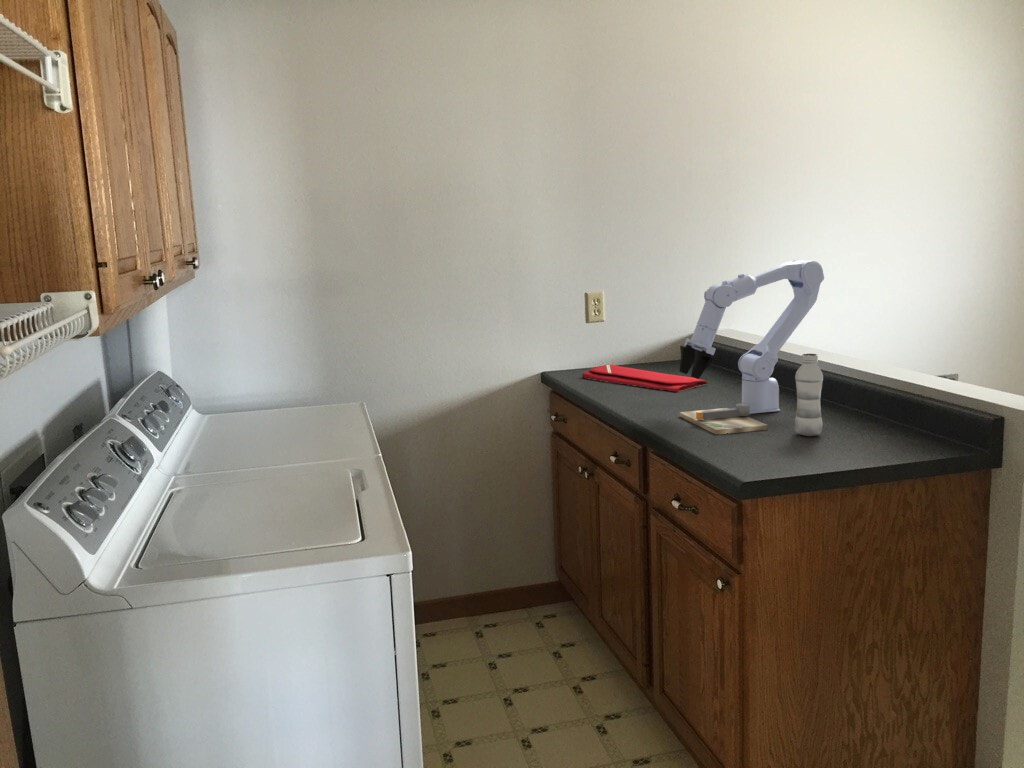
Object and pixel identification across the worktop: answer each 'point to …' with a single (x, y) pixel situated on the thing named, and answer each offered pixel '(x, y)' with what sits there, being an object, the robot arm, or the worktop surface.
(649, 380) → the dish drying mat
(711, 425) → the light wood flat board
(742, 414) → the grey bar
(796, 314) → the robot arm
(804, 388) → the plastic bottle
